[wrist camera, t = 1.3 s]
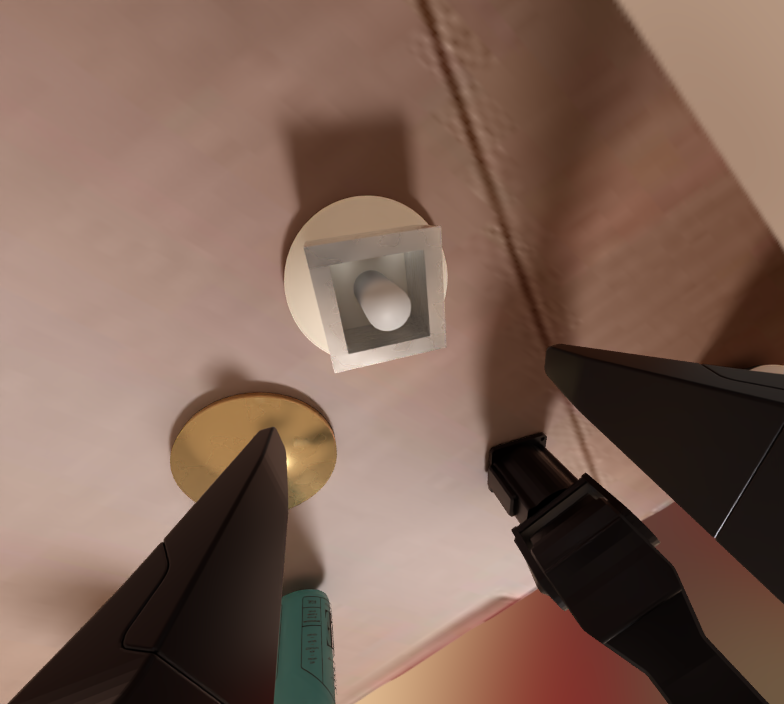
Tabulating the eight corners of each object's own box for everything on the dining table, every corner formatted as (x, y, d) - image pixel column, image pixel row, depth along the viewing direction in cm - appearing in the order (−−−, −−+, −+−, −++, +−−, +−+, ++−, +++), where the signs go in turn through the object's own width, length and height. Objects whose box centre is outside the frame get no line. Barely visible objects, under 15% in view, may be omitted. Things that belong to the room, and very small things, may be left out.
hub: (317, 376, 22) (319, 426, 17) (348, 483, 27) (356, 547, 22) (142, 416, 20) (81, 488, 15) (212, 524, 25) (186, 605, 20)
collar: (416, 224, 18) (441, 226, 15) (424, 326, 21) (446, 347, 18) (304, 241, 17) (303, 247, 14) (330, 346, 20) (334, 373, 17)
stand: (438, 186, 18) (487, 173, 13) (445, 340, 23) (483, 374, 18) (261, 209, 17) (239, 205, 12) (309, 372, 22) (308, 419, 16)
